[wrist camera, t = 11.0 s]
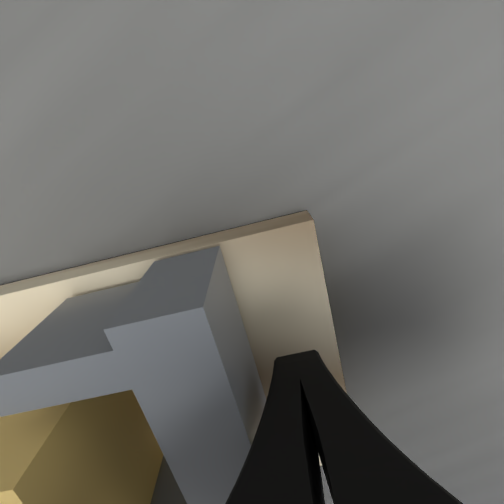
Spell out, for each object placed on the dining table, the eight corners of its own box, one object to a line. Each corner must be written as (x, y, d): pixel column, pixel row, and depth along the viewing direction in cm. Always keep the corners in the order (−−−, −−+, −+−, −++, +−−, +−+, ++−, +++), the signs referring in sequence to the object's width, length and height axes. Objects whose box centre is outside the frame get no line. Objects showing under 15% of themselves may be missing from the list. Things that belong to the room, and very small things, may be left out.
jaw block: (167, 441, 12) (116, 628, 8) (47, 464, 13) (-71, 657, 8) (116, 333, 11) (12, 489, 6) (-20, 364, 11) (-218, 533, 6)
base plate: (350, 432, 14) (383, 532, 10) (69, 485, 15) (15, 591, 11) (306, 210, 11) (334, 249, 7) (-52, 298, 12) (-181, 369, 8)
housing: (284, 461, 12) (297, 579, 9) (161, 484, 13) (130, 605, 10) (219, 245, 9) (202, 307, 6) (59, 284, 10) (-37, 361, 6)
